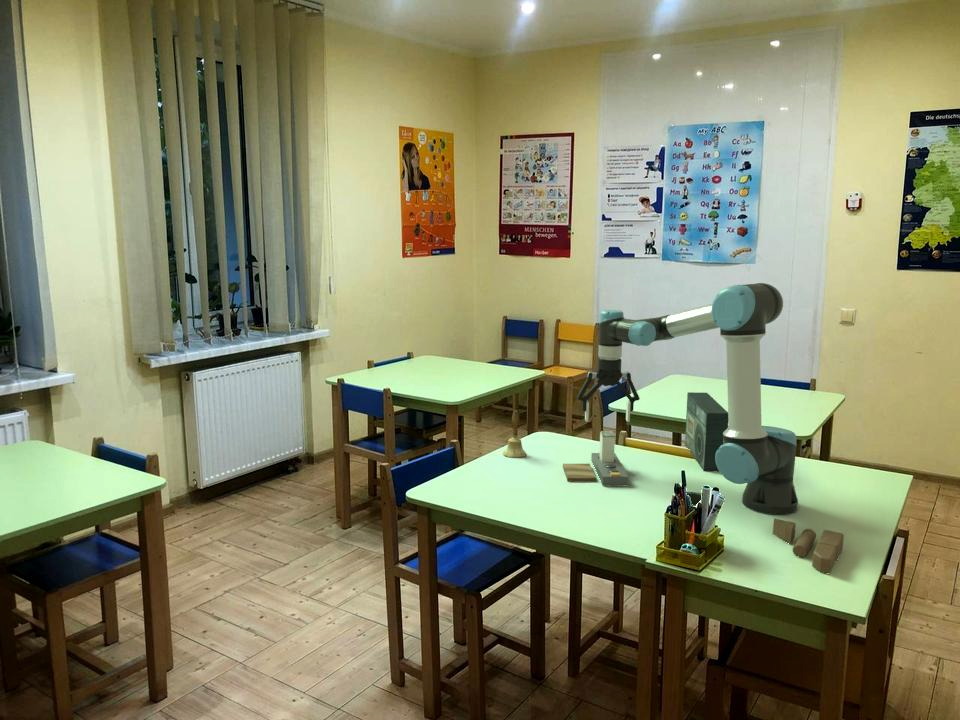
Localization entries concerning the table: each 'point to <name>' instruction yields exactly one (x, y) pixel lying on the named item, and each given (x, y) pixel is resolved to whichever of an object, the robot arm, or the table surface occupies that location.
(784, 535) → the wooden block set
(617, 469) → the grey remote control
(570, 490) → the table surface
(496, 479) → the table surface
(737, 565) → the table surface
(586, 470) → the walnut board
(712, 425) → the cassette player
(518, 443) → the hand bell
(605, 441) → the block
